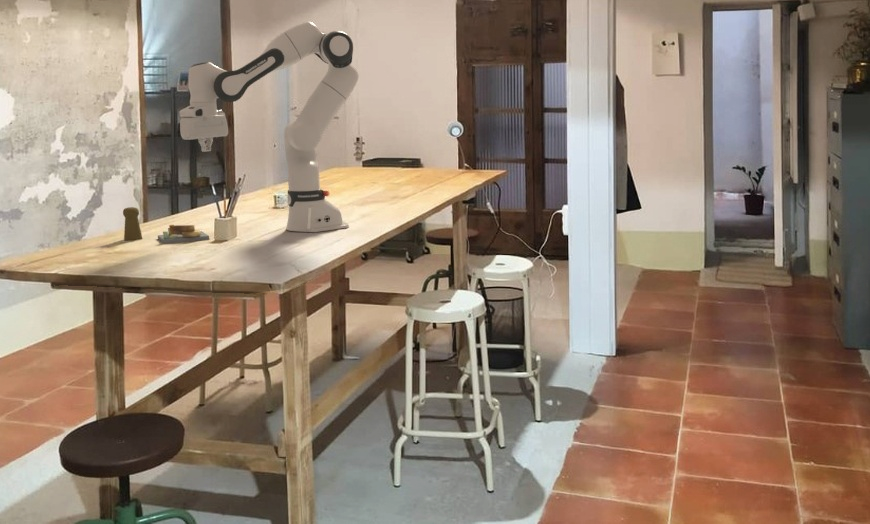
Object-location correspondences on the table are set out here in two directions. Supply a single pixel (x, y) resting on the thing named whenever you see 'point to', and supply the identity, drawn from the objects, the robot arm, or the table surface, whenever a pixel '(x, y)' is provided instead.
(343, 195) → the table surface
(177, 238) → the board
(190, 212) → the table surface
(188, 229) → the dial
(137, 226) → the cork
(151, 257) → the table surface
